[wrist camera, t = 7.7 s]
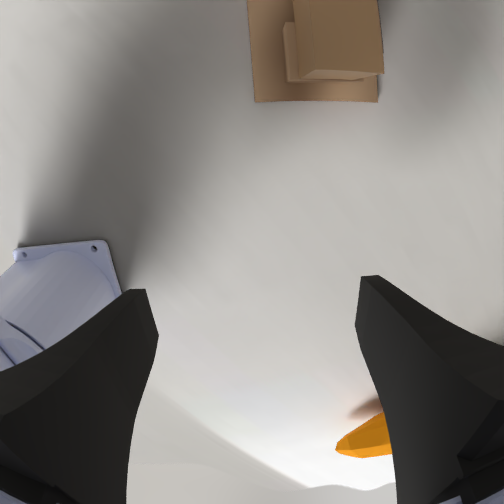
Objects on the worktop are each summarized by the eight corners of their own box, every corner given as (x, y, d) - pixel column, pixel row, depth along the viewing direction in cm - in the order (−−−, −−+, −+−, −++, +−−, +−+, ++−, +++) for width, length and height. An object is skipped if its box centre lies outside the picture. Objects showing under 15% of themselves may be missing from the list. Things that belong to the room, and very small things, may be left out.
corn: (511, 426, 21) (344, 495, 24) (485, 384, 28) (335, 441, 31) (529, 386, 19) (336, 468, 22) (494, 341, 26) (325, 406, 29)
